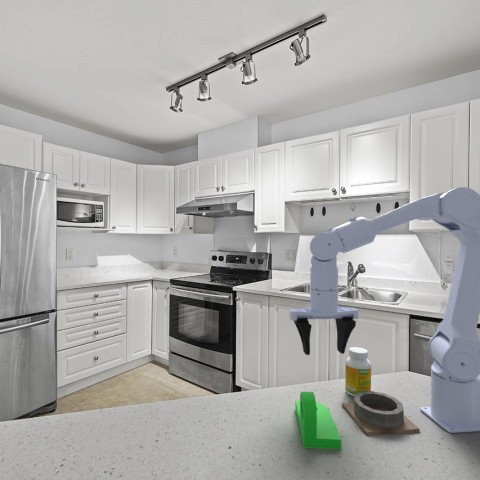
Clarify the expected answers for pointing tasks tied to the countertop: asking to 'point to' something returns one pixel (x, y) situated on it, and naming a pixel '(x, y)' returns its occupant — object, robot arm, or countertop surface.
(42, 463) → the countertop surface
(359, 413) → the collar holder
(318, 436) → the mechanical part
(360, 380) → the supplement bottle
